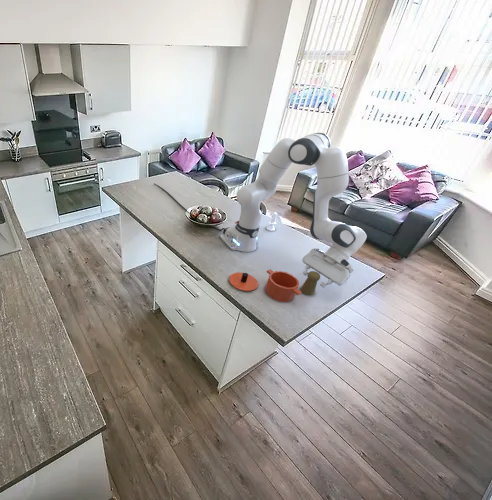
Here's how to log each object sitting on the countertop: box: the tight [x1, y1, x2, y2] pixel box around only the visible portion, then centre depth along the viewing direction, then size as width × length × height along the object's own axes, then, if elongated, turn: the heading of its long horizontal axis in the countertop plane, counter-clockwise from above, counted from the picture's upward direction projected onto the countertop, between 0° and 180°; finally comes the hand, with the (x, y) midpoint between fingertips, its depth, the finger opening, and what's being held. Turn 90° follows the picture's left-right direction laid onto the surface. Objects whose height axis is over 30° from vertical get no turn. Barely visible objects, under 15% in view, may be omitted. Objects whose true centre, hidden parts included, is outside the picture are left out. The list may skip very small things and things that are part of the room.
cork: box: [299, 270, 321, 296], centre depth 135 cm, size 6×6×11 cm
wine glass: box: [265, 211, 278, 232], centre depth 184 cm, size 5×5×12 cm
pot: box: [264, 268, 303, 303], centre depth 135 cm, size 13×18×8 cm
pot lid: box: [228, 272, 259, 292], centre depth 141 cm, size 14×14×5 cm
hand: (312, 280), depth 134 cm, fingers open, 8 cm apart
